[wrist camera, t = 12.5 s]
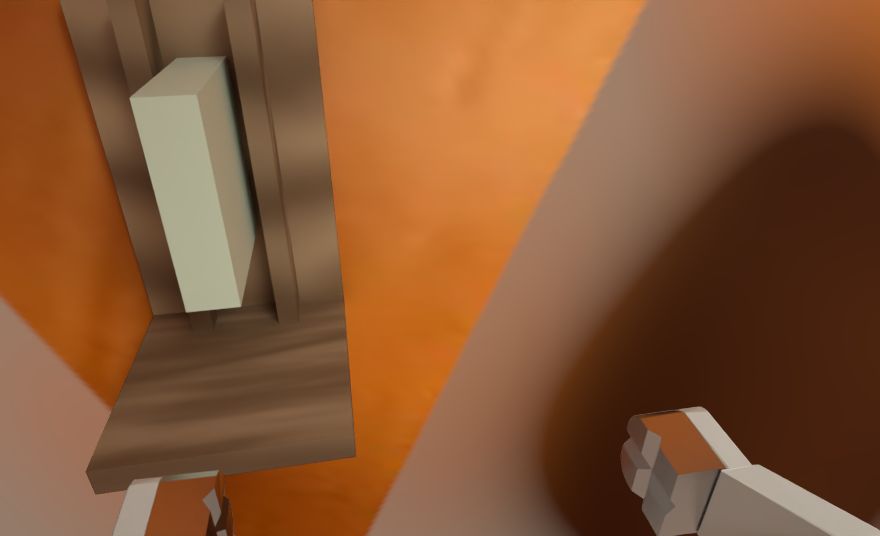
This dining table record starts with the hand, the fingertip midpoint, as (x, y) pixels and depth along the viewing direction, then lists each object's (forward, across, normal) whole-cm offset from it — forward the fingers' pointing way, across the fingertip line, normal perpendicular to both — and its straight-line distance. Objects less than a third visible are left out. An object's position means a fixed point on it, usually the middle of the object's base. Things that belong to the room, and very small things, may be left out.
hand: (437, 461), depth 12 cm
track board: (+27, +8, +4) cm, 28 cm away
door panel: (+26, +8, +2) cm, 27 cm away
